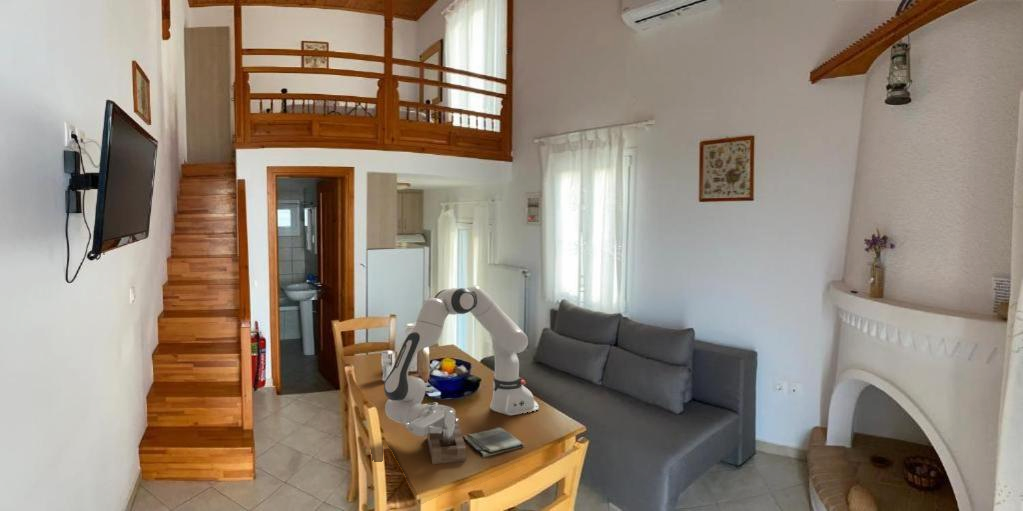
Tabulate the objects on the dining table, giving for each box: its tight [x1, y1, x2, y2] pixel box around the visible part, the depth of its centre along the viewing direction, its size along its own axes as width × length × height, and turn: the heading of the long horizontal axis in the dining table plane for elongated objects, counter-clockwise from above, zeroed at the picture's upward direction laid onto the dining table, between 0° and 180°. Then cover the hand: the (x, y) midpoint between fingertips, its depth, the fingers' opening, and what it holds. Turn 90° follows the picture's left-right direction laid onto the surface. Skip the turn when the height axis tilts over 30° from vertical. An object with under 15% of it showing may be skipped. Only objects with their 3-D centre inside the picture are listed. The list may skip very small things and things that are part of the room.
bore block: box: [426, 423, 467, 465], centre depth 184 cm, size 20×12×5 cm, turn 15°
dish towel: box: [462, 426, 525, 458], centre depth 191 cm, size 19×18×3 cm
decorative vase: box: [396, 322, 430, 372], centre depth 275 cm, size 18×18×25 cm
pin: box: [442, 408, 457, 447], centre depth 179 cm, size 4×4×16 cm
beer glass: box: [381, 349, 396, 383], centre depth 254 cm, size 7×7×15 cm
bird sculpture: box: [416, 348, 431, 383], centre depth 243 cm, size 11×12×32 cm
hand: (450, 426), depth 178 cm, fingers open, 8 cm apart
